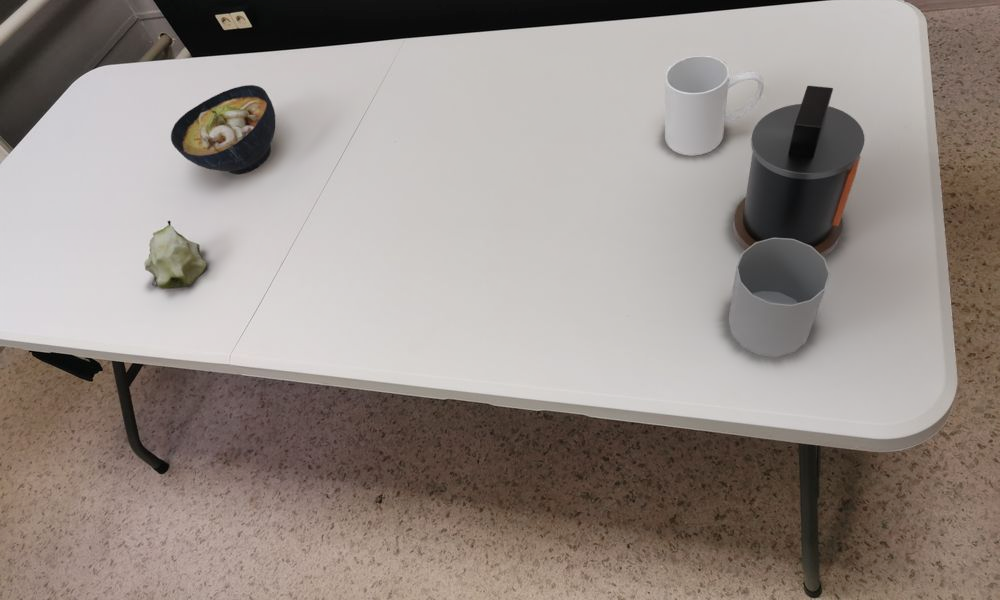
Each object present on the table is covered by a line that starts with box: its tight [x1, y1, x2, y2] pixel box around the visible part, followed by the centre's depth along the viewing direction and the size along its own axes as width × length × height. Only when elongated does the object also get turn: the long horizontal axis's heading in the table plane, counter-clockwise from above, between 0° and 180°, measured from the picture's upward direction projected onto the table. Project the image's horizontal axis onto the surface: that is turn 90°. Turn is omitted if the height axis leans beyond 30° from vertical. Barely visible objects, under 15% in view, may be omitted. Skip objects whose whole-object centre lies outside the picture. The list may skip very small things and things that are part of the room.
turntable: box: [732, 196, 844, 258], centre depth 75 cm, size 12×12×2 cm
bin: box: [743, 85, 866, 247], centre depth 67 cm, size 11×11×17 cm
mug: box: [664, 55, 764, 157], centre depth 82 cm, size 12×8×10 cm, turn 81°
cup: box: [727, 238, 831, 358], centre depth 64 cm, size 8×8×10 cm
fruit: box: [143, 220, 207, 290], centre depth 92 cm, size 9×9×8 cm
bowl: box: [170, 84, 277, 175], centre depth 104 cm, size 17×17×10 cm
